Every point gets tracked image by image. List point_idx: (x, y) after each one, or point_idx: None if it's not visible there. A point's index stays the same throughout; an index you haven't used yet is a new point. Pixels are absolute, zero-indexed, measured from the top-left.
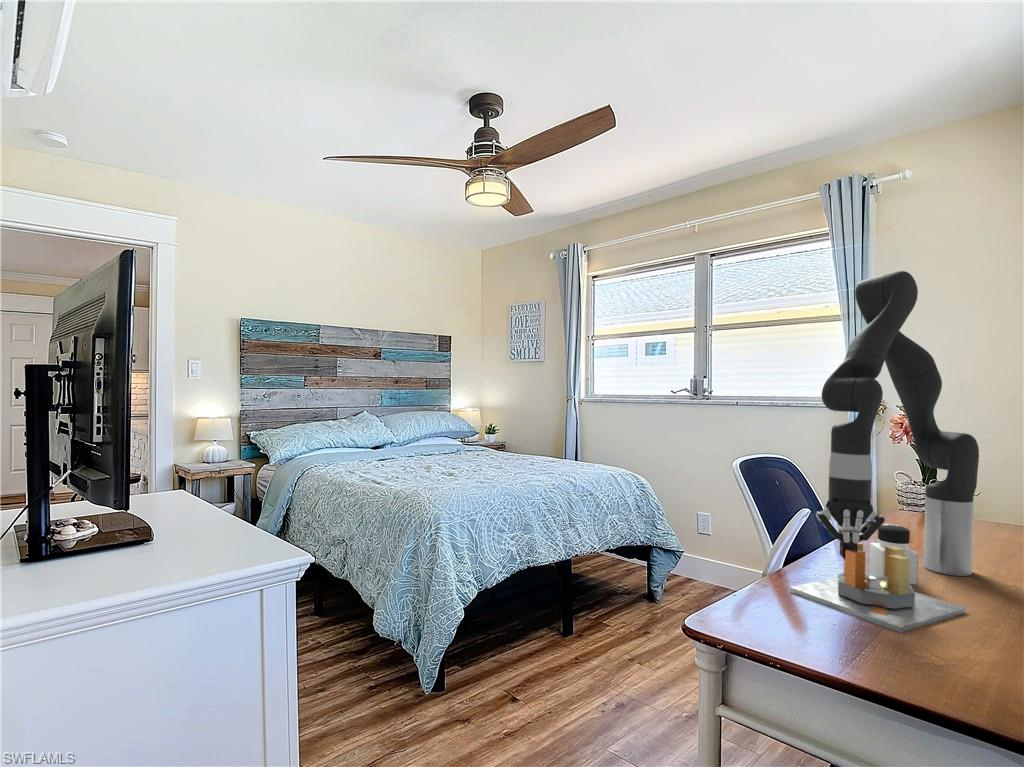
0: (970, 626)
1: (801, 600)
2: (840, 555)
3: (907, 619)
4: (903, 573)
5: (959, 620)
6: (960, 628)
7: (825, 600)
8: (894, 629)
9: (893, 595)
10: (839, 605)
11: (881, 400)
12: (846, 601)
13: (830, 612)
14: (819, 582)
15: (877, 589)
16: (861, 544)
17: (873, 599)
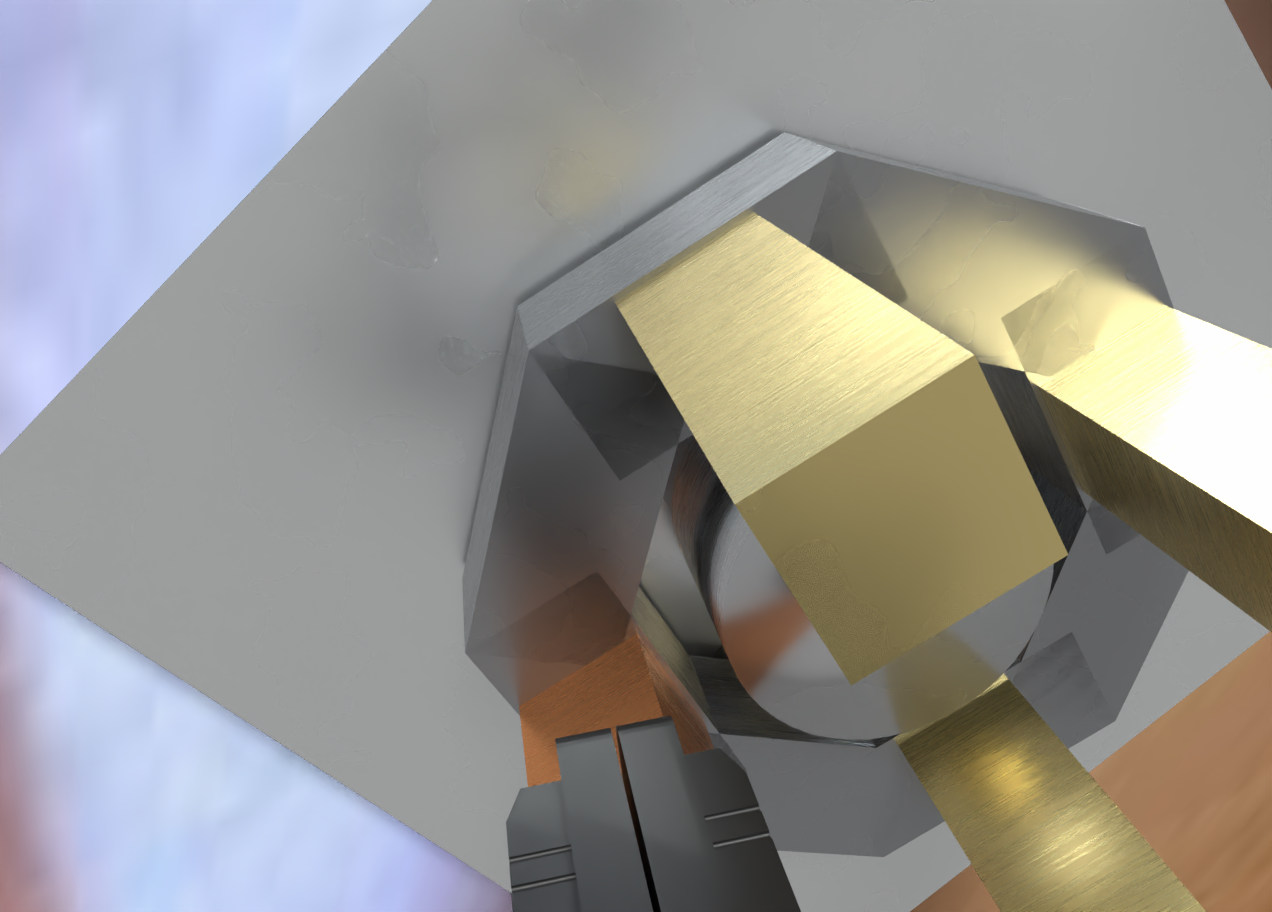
0: (1262, 721)
1: (94, 695)
2: (518, 794)
3: (853, 902)
4: None
5: (1266, 638)
6: (1169, 782)
7: (308, 759)
8: None
9: (882, 856)
10: (415, 826)
11: None
12: (499, 720)
13: (332, 864)
14: (319, 194)
15: (803, 759)
16: (1022, 570)
17: None
